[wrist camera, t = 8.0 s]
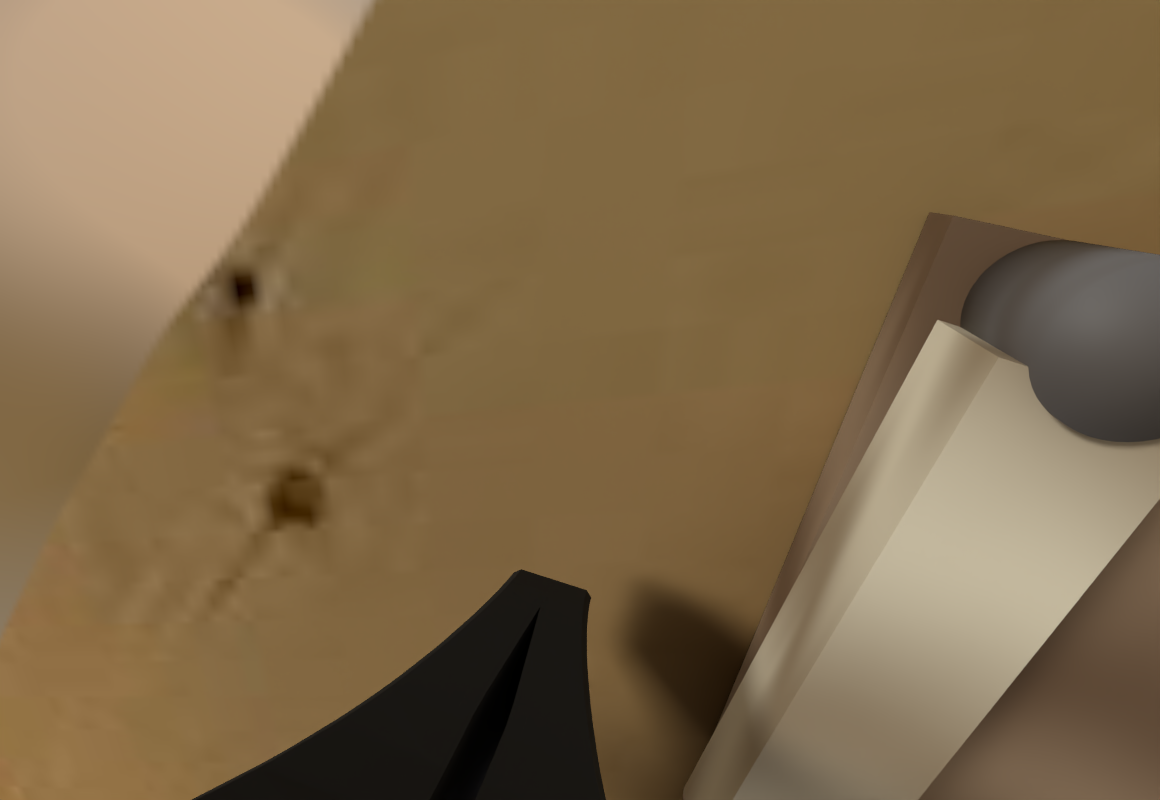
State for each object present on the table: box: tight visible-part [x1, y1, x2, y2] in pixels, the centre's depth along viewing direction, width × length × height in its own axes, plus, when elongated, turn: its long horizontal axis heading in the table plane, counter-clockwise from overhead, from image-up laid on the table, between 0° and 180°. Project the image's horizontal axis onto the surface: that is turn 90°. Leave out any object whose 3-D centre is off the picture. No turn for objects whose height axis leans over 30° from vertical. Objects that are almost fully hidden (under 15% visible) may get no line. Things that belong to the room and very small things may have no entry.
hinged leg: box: [683, 240, 1160, 800], centre depth 9 cm, size 12×2×2 cm, turn 164°
